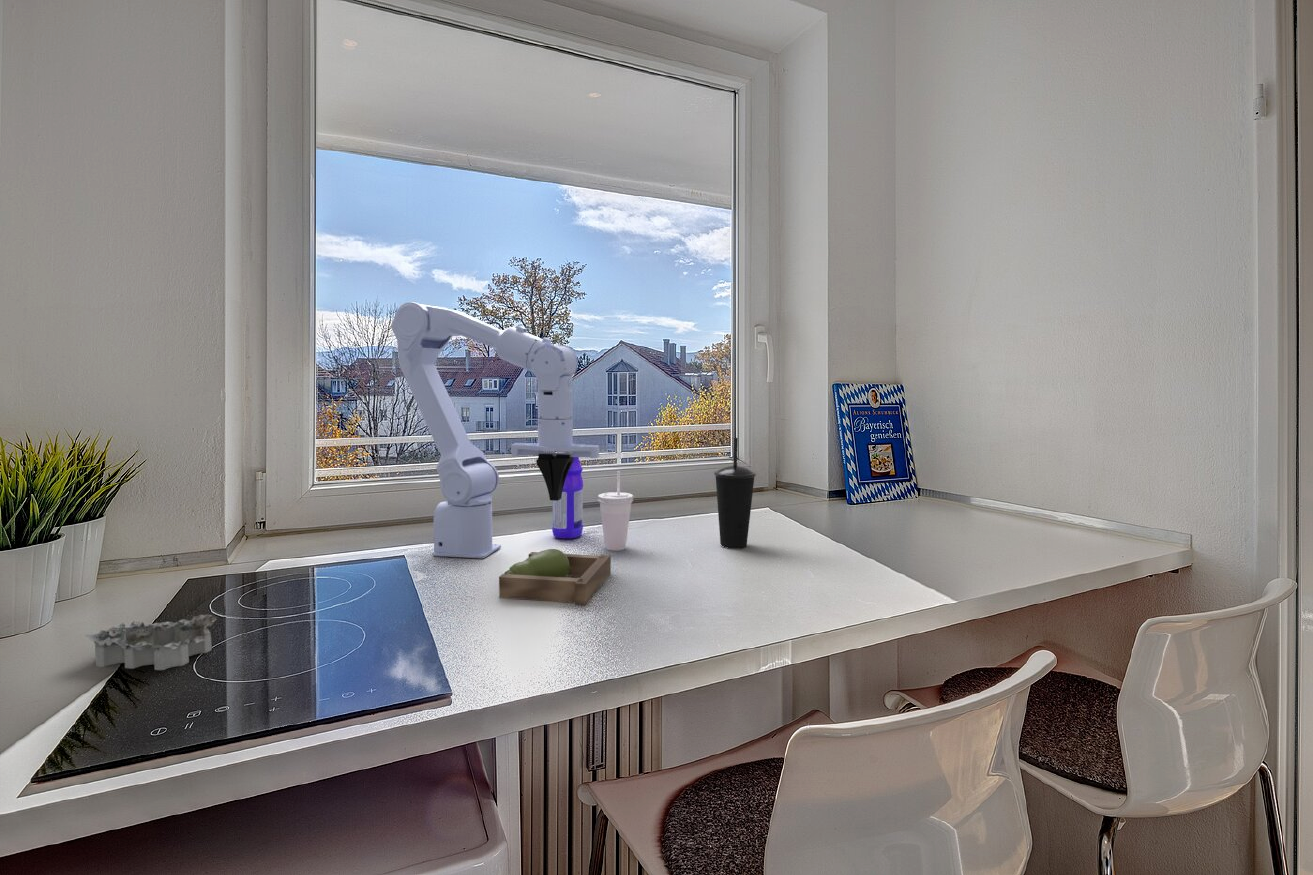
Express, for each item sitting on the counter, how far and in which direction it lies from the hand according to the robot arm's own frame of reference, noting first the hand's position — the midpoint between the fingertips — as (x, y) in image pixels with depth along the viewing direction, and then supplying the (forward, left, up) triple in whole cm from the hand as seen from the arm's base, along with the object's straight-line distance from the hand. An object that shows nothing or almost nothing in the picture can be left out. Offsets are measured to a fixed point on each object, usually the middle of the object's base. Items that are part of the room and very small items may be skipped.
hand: (555, 499), depth 114 cm
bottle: (-3, +17, -11) cm, 20 cm away
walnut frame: (+4, -13, -10) cm, 17 cm away
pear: (+1, -14, -11) cm, 17 cm away
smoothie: (+8, +10, -11) cm, 17 cm away
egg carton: (-32, -45, -11) cm, 56 cm away
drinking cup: (+29, +16, -11) cm, 35 cm away
